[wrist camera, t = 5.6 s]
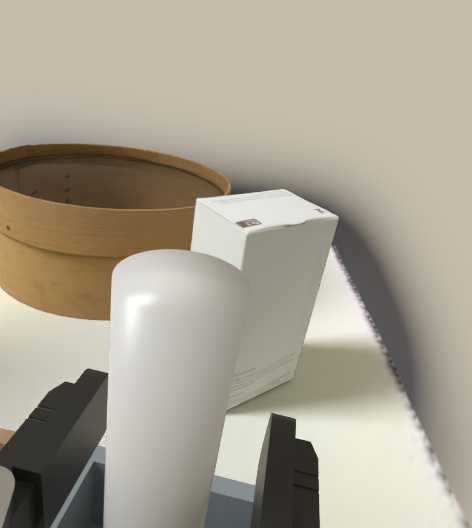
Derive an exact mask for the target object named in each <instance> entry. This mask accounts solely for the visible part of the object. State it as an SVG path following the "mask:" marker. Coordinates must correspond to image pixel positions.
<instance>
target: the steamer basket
mask: <svg viewBox="0 0 472 528" xmlns="http://www.w3.org/2000/svg"><path fill="white" fill-rule="evenodd" d="M230 193H231V184H230V182H229V180H228V179H227V178H226V177H225V176H224V175H222V174H221V173H219V172H217V171H216V170H213V169H211V168H209V167H207V166H205V165H202V164H199V163H196V162H193V161H190V160H187V159H184V158H180V157H177V156H172V155H168V154H164V153H158V152H154V151H149V150H143V149H137V148H129V147H121V146H111V145H110V146H109V145H97V144H73V143H71V144H70V143H67V144H38V145H25V146H20V147H15V148H10V149H6V150H3V151H0V287H1V288H2V289H3V290H4V291H5V292H6V293H7V294H9V295H10V296H11V297H13V298H14V299H16V300H18V301H19V302H21V303H24V304H26V305H28V306H30V307H33V308H35V309H38V310H41V311H44V312H48V313H52V314H56V315H60V316H65V317H71V318H78V319H88V320H110V314H111V285H112V273H113V270H114V268H115V267H116V266H117V264H118V263H120V262H121V261H122V260H124V259H126V258H127V257H130V256H132V255H135V254H138V253H141V252H145V251H151V250H160V249H178V250H188V251H191V242H192V233H193V224H194V215H195V207H196V199H197V198H210V197H219V196H229V195H230Z"/></svg>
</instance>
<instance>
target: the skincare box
mask: <svg viewBox="0 0 472 528" xmlns="http://www.w3.org/2000/svg"><path fill="white" fill-rule="evenodd" d="M338 219H339V218H338V217H337V216H336V215H334V214H332V213H330V212H328V211H326V210H324V209H322V208H320V207H319V206H316V205H314V204H312V203H310V202H308V201H306V200H303V199H302V198H300V197H298V196H296V195H294V194H293V193H291V192H289V191H286V190H284V189H281V190H272V191H264V192H257V193H248V194H239V195H229V196H219V197H210V198H197V199H196V207H195V215H194V224H193V233H192V242H191V251H194V252H200V253H204V254H208V255H211V256H214V257H217V258H220V259H222V260H224V261H226V262H228V263H230V264H232V265H233V266H235V267H236V268H238V269H239V270H240V271H241V272H242V273H243V274H244V275H245V276H246V277H247V279H248V281H249V283H250V295H249V300H248V305H247V310H246V315H245V320H244V325H243V330H242V335H241V340H240V345H239V350H238V355H237V360H236V366H235V371H234V376H233V381H232V386H231V391H230V396H229V401H228V406H227V410H229V409H231V408H233V407H235V406H237V405H239V404H241V403H243V402H245V401H247V400H249V399H251V398H254V397H256V396H258V395H260V394H262V393H264V392H266V391H268V390H270V389H273V388H274V387H276V386H278V385H280V384H282V383H285V382H287V381H289V380H292V379H293V378H294V375H295V371H296V368H297V364H298V361H299V357H300V354H301V350H302V346H303V343H304V339H305V336H306V332H307V328H308V325H309V321H310V318H311V314H312V310H313V307H314V303H315V300H316V296H317V293H318V289H319V286H320V282H321V278H322V275H323V271H324V268H325V264H326V261H327V257H328V254H329V250H330V247H331V243H332V240H333V236H334V232H335V229H336V226H337V222H338Z"/></svg>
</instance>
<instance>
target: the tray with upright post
mask: <svg viewBox="0 0 472 528" xmlns="http://www.w3.org/2000/svg"><path fill="white" fill-rule="evenodd" d="M249 295H250V283H249V281H248V279H247V277H246V276H245V275H244V274H243V273H242V272H241V271H240V270H239V269H238V268H236V267H235V266H233V265H232V264H230V263H228V262H226V261H224V260H222V259H220V258H217V257H214V256H211V255H208V254H204V253H200V252H194V251H188V250H178V249H160V250H151V251H145V252H141V253H138V254H135V255H132V256H130V257H127V258H126V259H124V260H122V261H121V262H120V263H118V264H117V266H116V267H115V268H114V270H113V273H112V285H111V314H110V343H109V372H108V401H107V430H106V448H105V447H101V446H97V447H96V449H95V451H94V452H93V454H92V456H91V458H90V459H89V461H88V463H87V465H86V466H85V468H84V470H83V471H82V473H81V475H80V477H79V478H78V480H77V482H76V484H75V485H74V487H73V489H72V491H71V492H70V494H69V496H68V498H67V499H66V501H65V503H64V505H63V506H62V508H61V510H60V512H59V513H58V515H57V517H56V518H55V520H54V522H53V524H52V525H51V527H50V528H250V525H251V517H252V509H253V502H254V494H255V486H254V485H251V484H247V483H243V482H239V481H235V480H231V479H227V478H223V477H219V476H215V475H214V472H215V467H216V462H217V456H218V451H219V446H220V441H221V436H222V431H223V426H224V421H225V416H226V411H227V406H228V401H229V396H230V391H231V386H232V381H233V376H234V371H235V366H236V360H237V355H238V350H239V345H240V340H241V335H242V330H243V325H244V320H245V315H246V310H247V305H248V300H249Z"/></svg>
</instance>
